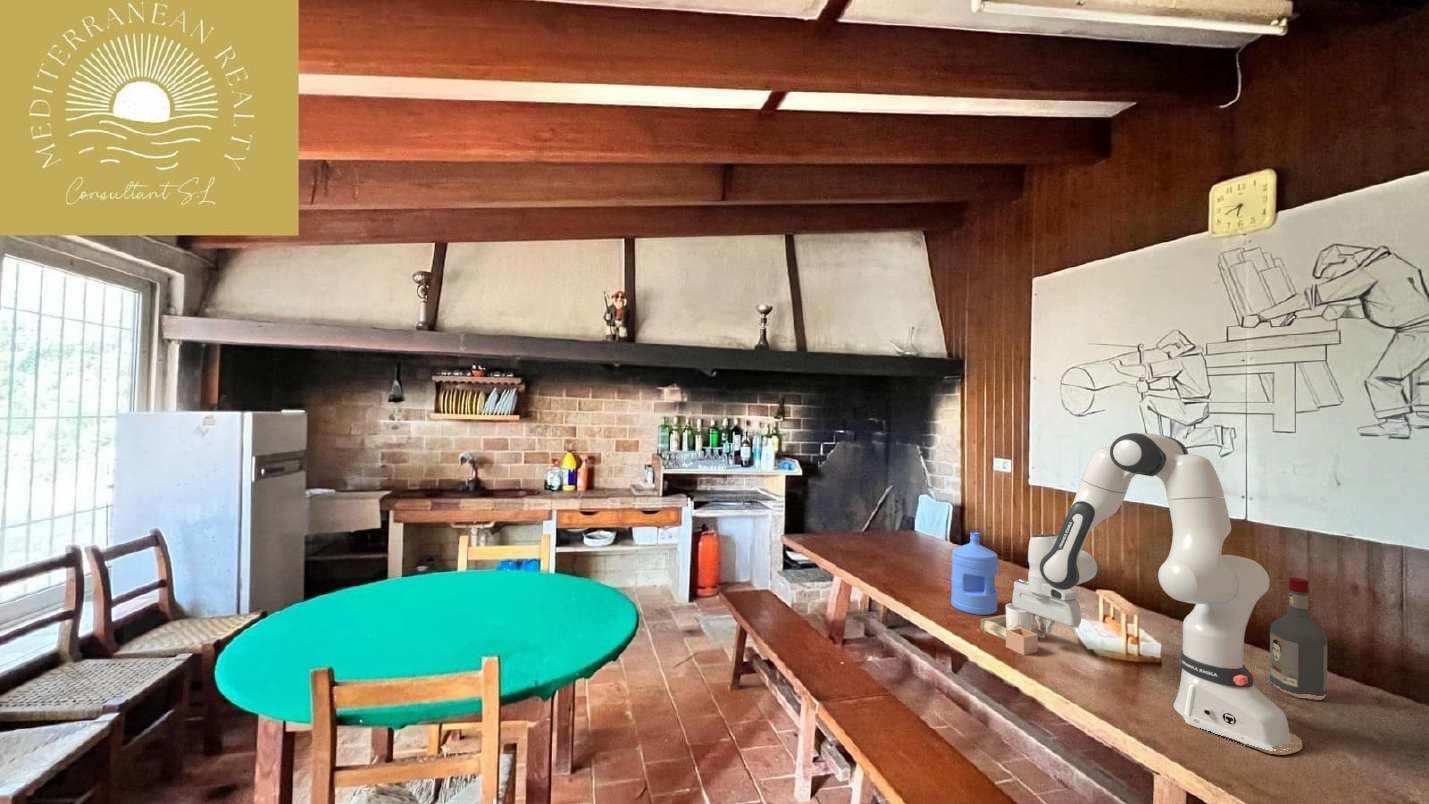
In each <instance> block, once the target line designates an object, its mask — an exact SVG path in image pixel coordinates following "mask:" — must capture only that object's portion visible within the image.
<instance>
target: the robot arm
mask: <svg viewBox="0 0 1429 804" xmlns="http://www.w3.org/2000/svg"><path fill="white" fill-rule="evenodd" d="M1137 475H1141V476H1146V477H1154V476H1155V477H1157V478H1159V479H1160V481H1161V482H1162V483H1163V485H1164V488H1165V492H1166V498H1167V502H1168V508H1169V512H1170V513H1169V514H1170V518H1171V524H1172V525H1171V526H1172V539H1171V540H1172V541H1171V547H1170V551H1169V554H1168V556H1167V558H1166V560H1165V561H1164V562H1163V563H1162V564H1161V566H1160V567H1159V569H1158V572H1157V573H1158V575H1157V578H1158V582H1159V584H1160V587H1161V588H1162V590H1163V591H1164V592H1165V594H1167V595H1168V596H1169V597H1170V598H1172V599H1173V600H1175V601H1179V602H1183V603H1188V604H1194V607H1193V609H1192V610H1191V611H1190V613H1189V614H1187V615H1186V616H1185V617H1184V619H1183V622H1182V649H1181V651H1180V652H1179V653H1180V657H1179V670H1180V673H1181V674H1180V675H1181V676H1180V683H1179V687H1178V692H1177V695H1176V699H1175V701H1174V703H1173V708H1174V710H1175V711H1176V713H1178V714H1179V715H1181V717H1182V718H1183V721H1184V720H1185V721H1184V722H1185V723H1186V724H1187V725H1189V726H1192V727H1193V728H1194V727H1195V728H1197V729H1200V728H1201V729H1200V730H1202V729H1204V730H1203V731H1205V730H1207V731H1206V732H1208V731H1211V732H1213V733H1215V734H1218V735H1221V736H1226V737H1229V738H1232V739H1235V740H1237V741H1240V742H1242V743H1244V744H1249V745H1252V746H1255V747H1259V748H1262V749H1265V750H1269V751H1273V750H1274V751H1276V749H1273V748H1272V747H1273V746H1279V747H1282V746H1285V745H1283V744H1293V743H1294V742H1290V740H1291V739H1290V738H1291V737H1290V733H1289V732H1290V728H1289V722H1288V719H1287V718H1288V717H1287V716H1286V714H1285V712H1284V711H1283V709H1281V708H1280V707H1279V706H1278V705H1277V704H1275V702H1274V701H1272V700H1271V699H1270V698H1268V697H1267V695H1265V694H1264V693H1263V692H1262V691H1261V690H1260V689H1258V687H1256V686H1255V685H1254V679H1256V678H1257V677H1258V676H1257V671H1253V672H1250V671H1249V670H1248V668H1247V667H1246V666H1245V664H1244V647H1245V646H1244V645H1245V633H1246V629H1247V626H1248V623H1249V620H1250V618H1251V615H1252V613H1253V610H1254V608H1255V606H1256V604H1257V603H1258V601H1259V599H1260V598H1261V597H1262V596H1264V595H1265V594H1266V593H1267V591H1268V590H1269V587H1270V578H1269V575H1268V572H1267V570H1265V568H1264V566H1262V565H1261V564H1260V563H1258V562H1257V561H1255V560H1253V559H1251V558H1247V557H1243V556H1240V555H1239V556H1238V555H1232V554H1222V549H1223V545H1224V541H1225V539H1226V538H1227V537H1228V536H1229V535H1230V533H1231V530H1232V524H1231V519H1230V515H1229V511H1228V506H1227V501H1226V498H1225V495H1224V490H1223V487H1222V483H1221V481H1220V478H1219V476H1218V473H1217V470H1216V469H1215V467H1214V465H1213V463H1212V462H1211V461H1210V459H1208V458H1206V457H1204V456H1202V455H1198V454H1191V453H1189V451H1188V448H1187V447H1186V446H1185V444H1184V443H1182V442H1181V441H1180V440H1177V439H1176V438H1174V437H1171V436H1166V435H1158V434H1155V433H1148V432H1146V433H1145V432H1144V433H1137V432H1133V433H1127V434H1124V435H1121V436H1119V437H1117V438H1116V439H1115V440H1114V441H1113V442H1112V444H1111V445H1110V447H1109V446H1106V447H1105V446H1104V447H1101V448H1098V449H1097V450H1096V451H1094V453H1093V454H1092V456H1091V457H1090V459H1089V461H1088V462H1087V464H1086V467H1085V469H1084V471H1083V474H1082V476H1081V479H1080V482H1079V485H1078V487H1077V491H1076V494H1075V497H1074V499H1073V502H1072V504H1071V506H1070V509H1069V511H1068V513H1067V515H1066V517H1065V520H1064V522H1063V524H1062V525H1061V528H1060V531H1059V533H1058V535H1057V534H1054V533H1039V534H1035V535H1032V536H1031V537H1030V539H1029V542H1028V551H1027V562H1028V565H1029V568H1028V569H1029V570H1028V575H1027V577H1028V579H1027V580H1024V579H1020V578H1018V579H1016V580H1014V581H1013V592H1012V604H1013V606H1014V607H1015V608H1018V609H1020V610H1023V611H1026V612H1029V613H1032V614H1033V615H1034V619H1035V621H1036V622H1037V623H1036V624H1038V625H1039V630H1041V631H1044V632H1045V634H1051V633H1052V627H1053V625H1054V624H1056V622H1057V623H1058V624H1059V623H1060V624H1061V625H1065V626H1068V627H1071V628H1073V627H1078V626H1080V624H1081V622H1082V616H1081V615H1082V612H1081V605H1080V603H1079V601H1078V600H1077V599H1078V598H1079V592H1078V591H1077V590H1076V589H1073V587H1075V586H1078V585H1081V584H1083V583H1086V582H1089V581H1090V580H1092V579H1094V578H1095V577H1096V575H1097V574H1098V569H1099V567H1098V563H1097V561H1096V559H1095V558H1094V556H1093V555H1092V554H1091V553H1089V552H1088V551H1086V550H1084V549H1083V547H1084V545H1085V543H1086V540H1087V538H1088V536H1089V534H1090V532H1091V531H1092V530H1093V529H1094V528H1095V527H1096V526H1097V525H1099V524H1100V523H1101V522H1102V521H1103V522H1104V520H1107V519H1109V517H1111V516H1113V515H1114V514H1116V512H1118V510H1119V508H1120V507H1121V506H1122V504H1123V502H1124V500H1125V497H1126V495H1127V493H1128V489H1129V485H1130V483H1131V481H1132V479H1133V478H1134V477H1135V476H1137ZM1044 619H1045V621H1046V624H1045V622H1044ZM1213 733H1212V734H1213ZM1215 734H1214V735H1215ZM1218 735H1217V736H1218ZM1221 736H1220V737H1221ZM1294 744H1299V743H1297V742H1296V743H1294ZM1287 749H1289V748H1287ZM1283 750H1286V749H1283ZM1287 751H1288V750H1287ZM1280 752H1282V751H1280Z"/></svg>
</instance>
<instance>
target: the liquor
mask: <svg viewBox="0 0 1429 804" xmlns="http://www.w3.org/2000/svg"><path fill="white" fill-rule="evenodd" d="M1309 584H1310V583H1309V580H1308V579H1304V578H1301V577H1292V576H1290V577H1288V590H1289V594H1288V602H1289V604H1288V609H1287V611H1286V612H1287V613H1286V614H1284V615H1282V616H1281V617H1279V618H1278V619H1276V620H1274V621H1272V622H1271V625H1270V626H1269V627H1270V630H1269V632H1270V633H1269V635H1270V636H1269V682H1270V681H1271V682H1272V683H1273V684H1275V685H1276V686H1279V687H1280V688H1281V689H1283V690H1286V691H1289V692H1292V693H1296V694H1311V695H1316V696H1324V695H1325V694H1327V695H1328V636H1327V635H1326V632H1325V631H1324V630H1322V628H1321V627H1319V625H1318V624H1317V623H1316V622H1315V621H1313V620H1312V618H1310V614H1309V609H1308V608H1309V600H1308V599H1309V597H1308V596H1309V595H1308V594H1309V592H1310V591H1309V589H1310V587H1309V586H1310V585H1309ZM1271 682H1270V683H1271Z"/></svg>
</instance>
